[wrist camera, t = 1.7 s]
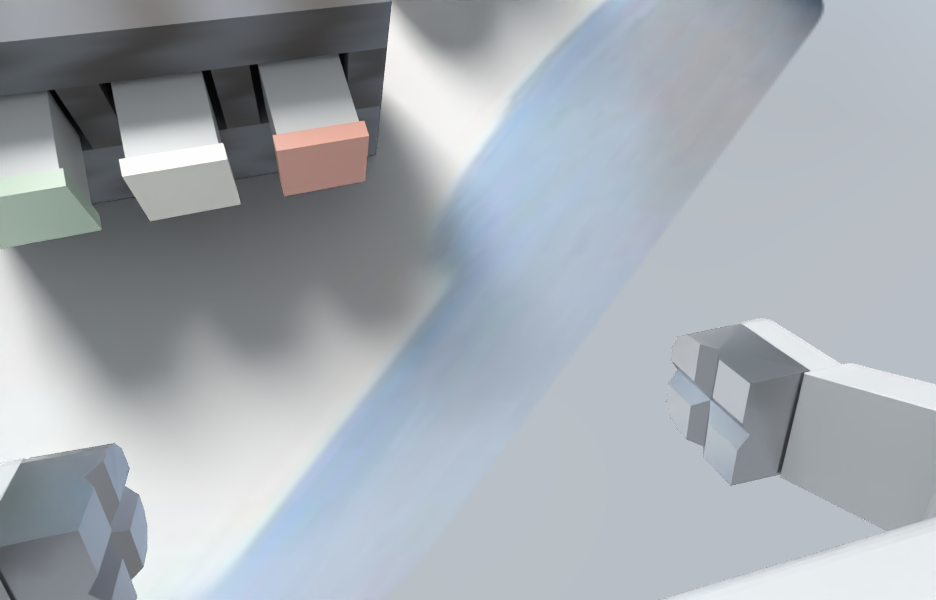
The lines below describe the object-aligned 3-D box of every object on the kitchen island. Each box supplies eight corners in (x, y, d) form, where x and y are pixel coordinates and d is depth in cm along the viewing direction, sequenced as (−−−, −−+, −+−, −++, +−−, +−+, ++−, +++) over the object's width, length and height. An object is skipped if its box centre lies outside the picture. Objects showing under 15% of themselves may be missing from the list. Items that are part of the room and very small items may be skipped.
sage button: (-1, 249, 27) (-55, 205, 23) (-13, 153, 28) (-66, 97, 24) (102, 230, 28) (65, 185, 24) (86, 138, 29) (49, 83, 25)
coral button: (283, 196, 30) (276, 151, 26) (262, 112, 31) (251, 58, 28) (365, 181, 31) (369, 135, 27) (341, 101, 32) (341, 47, 29)
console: (-6, 221, 32) (-188, 62, 21) (-22, 90, 34) (-197, -117, 23) (375, 154, 37) (391, 1, 26) (341, 46, 40) (343, -139, 28)
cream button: (150, 221, 28) (122, 176, 25) (132, 131, 30) (103, 76, 26) (241, 204, 30) (227, 159, 26) (220, 118, 31) (204, 64, 27)
